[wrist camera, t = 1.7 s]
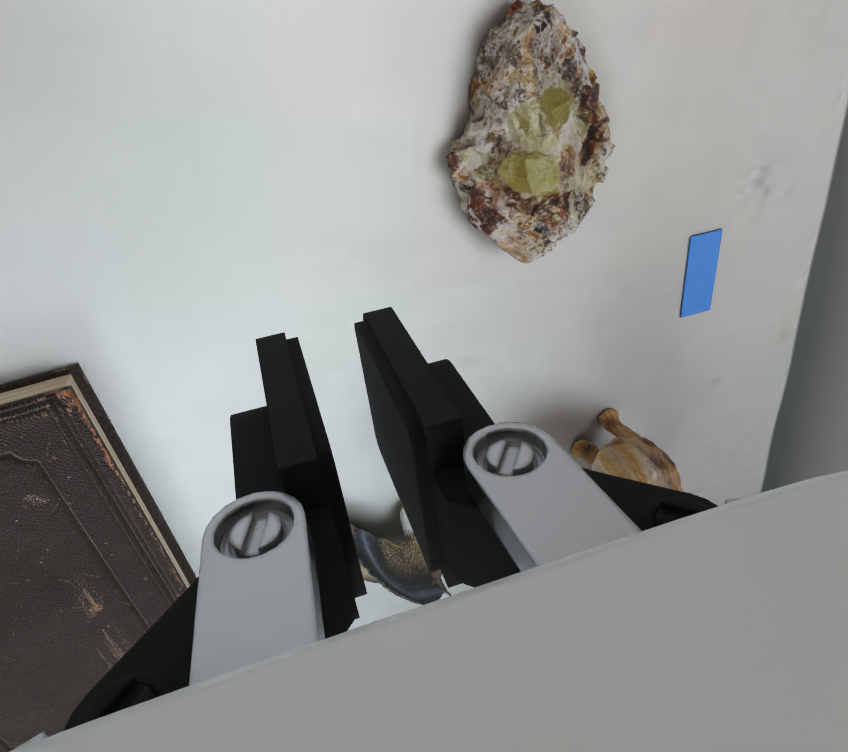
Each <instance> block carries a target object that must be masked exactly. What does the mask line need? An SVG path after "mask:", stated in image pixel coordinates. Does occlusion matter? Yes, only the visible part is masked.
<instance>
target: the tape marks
mask: <svg viewBox="0 0 848 752" xmlns="http://www.w3.org/2000/svg"><path fill="white" fill-rule="evenodd" d="M721 235H722V229H720V230H715V231H711V232H707V233H703V234H699V235H695V236H691V237H690V244H689V252H688V260H687V268H686V276H685V283H684V291H683V299H682V307H681V315H680V317H685V316H689V315H692V314H696V313H700V312H703V311H707V310H710V306H711V300H712V293H713V287H714V280H715V274H716V267H717V261H718V254H719V248H720V242H721Z"/></svg>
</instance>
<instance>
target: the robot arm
mask: <svg viewBox="0 0 848 752" xmlns="http://www.w3.org/2000/svg"><path fill="white" fill-rule="evenodd" d="M355 332H356V337H357V343H358V348H359V353H360V358H361V363H362V368H363V373H364V379H365V384H366V389H367V394H368V399H369V404H370V409H371V415H372V420H373V425H374V430H375V435H376V439H377V443H378V446H379V449H380V452H381V454H382V457H383V459H384V462H385V464H386V466H387V469H388V471H389V474H390V476H391V479H392V481H393V484H394V486H395V488H396V491H397V493H398V496H399V498H400V501H401V503H402V506H403V508H404V511H405V513H406V515H407V518H408V520H409V523H410V525H411V528H412V530H413V533H414V535H415V537H416V540H417V542H418V545H419V547H420V550H421V552H422V555H423V557H424V560H425V562H426V564H427V567H428V569H429V571H430V572H431V573H432V572H435V571H438V570H441V572H442V574H443V577H444V579H445V581H446V584H447V586H448V588H449V587H452V586H455V585H458V584H461V583H463V584H466V585H469V586H472V587H475V588H472V589H469V590H466V591H463V592H460V593H458V594H455V595H452V596H449V597H446V598H443V599H440V600H437V601H434V602H431V603H428V604H425V605H422V606H419V607H417V608H414V609H411V610H408V611H405V612H402V613H399V614H396V615H393V616H390V617H387V618H384V619H381V620H378V621H376V622H373V623H370V624H367V625H364V626H361V627H358V628H355V629H352V630H349V631H347V630H348V629H349V627H350V626H351V624H352V623H353V621H354V620H355V619H357V618H360V617H359V613H358V610H357V606H356V602H355V598H356V597H359V596H362V595H365V594H367V592H366V587H365V583H364V579H363V575H362V571H361V567H360V563H359V559H358V555H357V551H356V547H355V543H354V539H353V535H352V531H351V527H350V523H349V519H348V515H347V511H346V506H345V502H344V498H343V494H342V490H341V486H340V482H339V478H338V474H337V470H336V466H335V462H334V459H333V455H332V451H331V448H330V444H329V441H328V438H327V434H326V431H325V427H324V424H323V421H322V417H321V414H320V411H319V407H318V404H317V401H316V397H315V394H314V391H313V387H312V384H311V381H310V377H309V374H308V370H307V367H306V364H305V360H304V357H303V354H302V350H301V347H300V344H299V340H298V337H295V338H291V339H287V340H286V337H285V333H280V334H275V335H271V336H267V337H263V338H259V339H256V345H257V350H258V356H259V362H260V368H261V374H262V380H263V386H264V392H265V397H266V403H267V406H264V407H260V408H257V409H253V410H249V411H245V412H241V413H237V414H234V415H231V416H230V425H231V438H232V451H233V464H234V478H235V491H236V500H235V501H233V502H232V503H230V504H228V505H226V506H225V507H224V508H223V509H222V510H220V511H219V512H218V513H217V514H216V515H215V516H214V517H213V518H212V520H211V521H210V523H209V524H208V525H207V527H206V529H205V532H204V536H203V539H202V548H201V559H200V570H199V577H198V578H197V579H196V580H195V581H194V582H193V583H192V584H191V585H190V586H189V587H188V588H187V589H186V591H185V592H184V593H183V594H182V595H181V596H180V597H179V598H178V599H177V600H176V601H175V602H174V603H173V604H172V605H171V606H170V607H169V608H168V609H167V610H166V612H165V613H164V614H163V615H162V616H161V617H160V618H159V619H158V620H157V621H156V622H155V623H154V624H153V625H152V626H151V627H150V628H149V629H148V630H147V631H146V632H145V634H144V635H143V636H142V637H141V638H140V639H139V640H138V641H137V642H136V643H135V644H134V645H133V646H132V647H131V648H130V649H129V650H128V651H127V652H126V653H125V654H124V656H123V657H122V658H121V659H120V660H119V661H118V662H117V663H116V664H115V665H114V666H113V667H112V668H111V669H110V670H109V671H108V672H107V673H106V674H105V675H104V677H103V678H102V679H101V680H100V681H99V682H98V683H97V684H96V685H95V686H94V687H93V688H92V689H91V690H90V691H89V692H88V693H87V694H86V696H85V697H84V698H83V699H82V701H81V702H80V703H79V704H78V706H77V707H76V708H75V710H74V711H73V712H72V714H71V716H70V718H69V720H68V722H67V724H66V726H65V728H64V730H63V731H61V732H59V733H57V734H55V735H52V736H50V737H47V735H46V734H45V733H44V732H42V733H40V734H38V735H37V736H35V737H33V738H32V739H30V740H28V741H27V742H25V743H23V744H22V745H20V746H18V747H17V748H15V749H13V750H12V751H10V752H848V471H843V472H838V473H834V474H829V475H824V476H819V477H815V478H811V479H807V480H804V481H801V482H797V483H794V484H791V485H787V486H783V487H780V488H776V489H773V490H769V491H766V492H762V493H759V494H756V495H752V496H749V497H745V498H742V499H727V500H725V504H724V505H721V506H717V505H715V504H714V503H712V502H710V501H709V500H707V499H705V498H702V497H699V496H696V495H693V494H690V493H686V492H682V491H677V490H673V489H669V488H665V487H660V486H656V485H652V484H648V483H643V482H639V481H635V480H631V479H626V478H622V477H618V476H614V475H609V474H605V473H601V472H597V471H592V470H588V469H584V468H581V467H580V466H579V465H578V464H577V463H576V462H575V461H574V460H573V459H572V458H571V457H570V456H569V455H568V454H567V453H566V452H565V451H564V449H563V448H562V447H561V446H560V445H559V444H558V443H557V442H556V441H555V440H554V439H553V438H552V437H551V436H550V435H548V434H547V433H546V432H544V431H543V430H542V429H539V428H537V427H534V426H532V425H529V424H523V423H517V422H508V423H498V424H494V422H493V421H492V419H491V418H490V417H489V415H488V414H487V412H486V411H485V410H484V408H483V407H482V405H481V404H480V403H479V401H478V400H477V398H476V397H475V396H474V394H473V393H472V391H471V390H470V388H469V387H468V386H467V384H466V383H465V381H464V380H463V379H462V377H461V376H460V374H459V373H458V372H457V370H456V369H455V367H454V366H453V364H452V363H451V362H450V361H449V360H448V359H444V360H441V361H437V362H433V363H429V364H428V363H427V362H426V360H425V359H424V357H423V356H422V354H421V353H420V351H419V349H418V348H417V346H416V345H415V343H414V342H413V340H412V338H411V337H410V335H409V334H408V332H407V331H406V329H405V328H404V326H403V324H402V323H401V321H400V320H399V318H398V317H397V315H396V314H395V312H394V310H393V309H392V308H391V307H388V308H384V309H380V310H376V311H372V312H368V313H364V314H363V321H362V322H358V323H355Z"/></svg>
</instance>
